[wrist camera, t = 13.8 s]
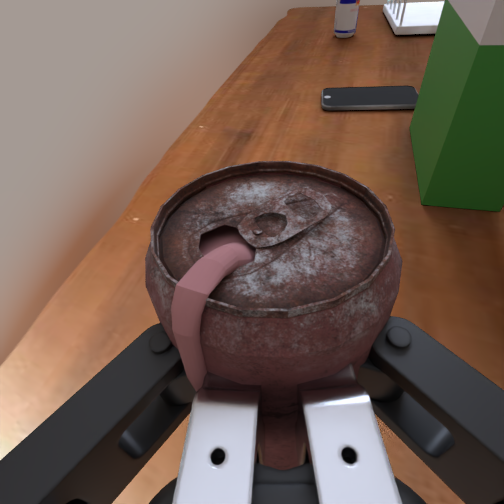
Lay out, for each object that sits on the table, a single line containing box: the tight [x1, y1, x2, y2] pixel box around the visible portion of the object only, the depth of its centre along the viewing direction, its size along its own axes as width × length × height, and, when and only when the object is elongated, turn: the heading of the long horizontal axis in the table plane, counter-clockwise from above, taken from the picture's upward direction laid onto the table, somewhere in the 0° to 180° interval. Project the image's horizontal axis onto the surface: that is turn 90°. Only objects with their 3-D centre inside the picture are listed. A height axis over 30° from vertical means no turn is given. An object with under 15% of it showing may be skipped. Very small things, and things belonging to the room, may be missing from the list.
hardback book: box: [410, 0, 504, 212], centre depth 32 cm, size 18×7×24 cm, turn 166°
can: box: [145, 161, 402, 470], centre depth 12 cm, size 6×6×14 cm
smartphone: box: [322, 86, 419, 110], centre depth 55 cm, size 8×1×15 cm
